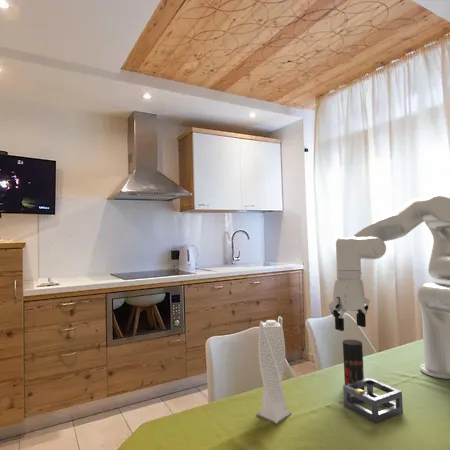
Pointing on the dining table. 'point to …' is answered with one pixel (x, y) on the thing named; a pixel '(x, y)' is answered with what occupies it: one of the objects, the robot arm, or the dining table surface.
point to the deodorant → (353, 361)
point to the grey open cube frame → (373, 400)
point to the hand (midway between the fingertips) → (350, 328)
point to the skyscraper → (272, 371)
